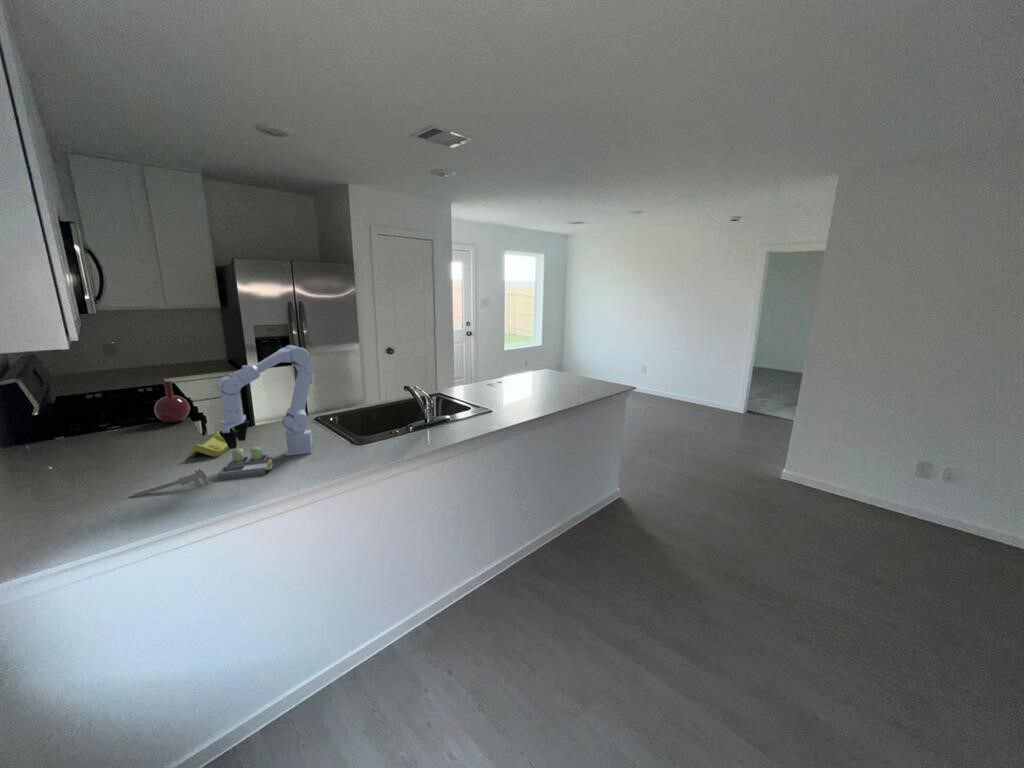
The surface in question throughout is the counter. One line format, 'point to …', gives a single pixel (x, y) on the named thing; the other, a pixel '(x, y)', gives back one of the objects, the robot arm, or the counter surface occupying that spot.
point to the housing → (236, 468)
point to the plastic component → (211, 446)
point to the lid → (260, 466)
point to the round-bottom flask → (171, 406)
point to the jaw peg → (238, 455)
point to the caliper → (175, 483)
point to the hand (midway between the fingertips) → (237, 444)
